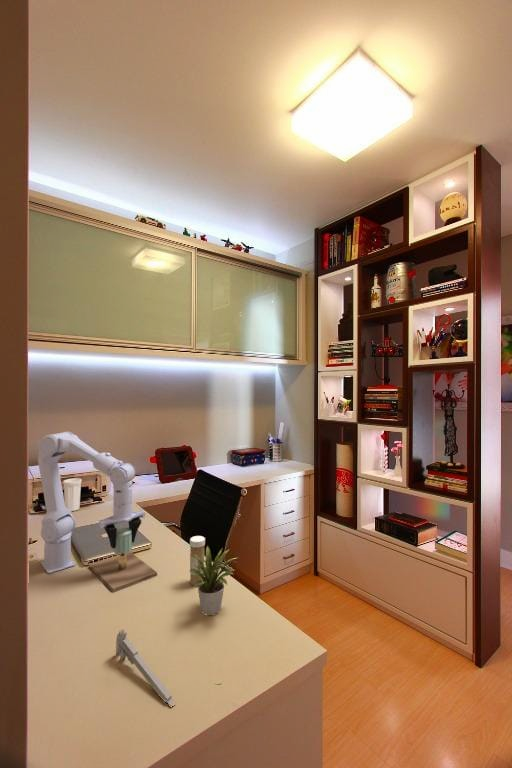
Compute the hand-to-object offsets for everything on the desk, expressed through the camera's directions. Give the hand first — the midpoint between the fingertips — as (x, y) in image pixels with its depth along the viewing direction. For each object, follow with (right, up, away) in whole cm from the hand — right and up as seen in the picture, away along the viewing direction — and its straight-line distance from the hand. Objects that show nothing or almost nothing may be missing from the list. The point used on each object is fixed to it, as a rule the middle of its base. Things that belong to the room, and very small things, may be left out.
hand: (122, 544), depth 118 cm
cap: (0, -2, 0) cm, 2 cm away
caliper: (+20, -9, -43) cm, 48 cm away
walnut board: (0, -9, 0) cm, 9 cm away
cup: (-46, -9, +59) cm, 75 cm away
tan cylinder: (0, -9, 0) cm, 9 cm away
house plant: (+31, -9, -21) cm, 39 cm away
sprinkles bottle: (+25, -9, -6) cm, 28 cm away
